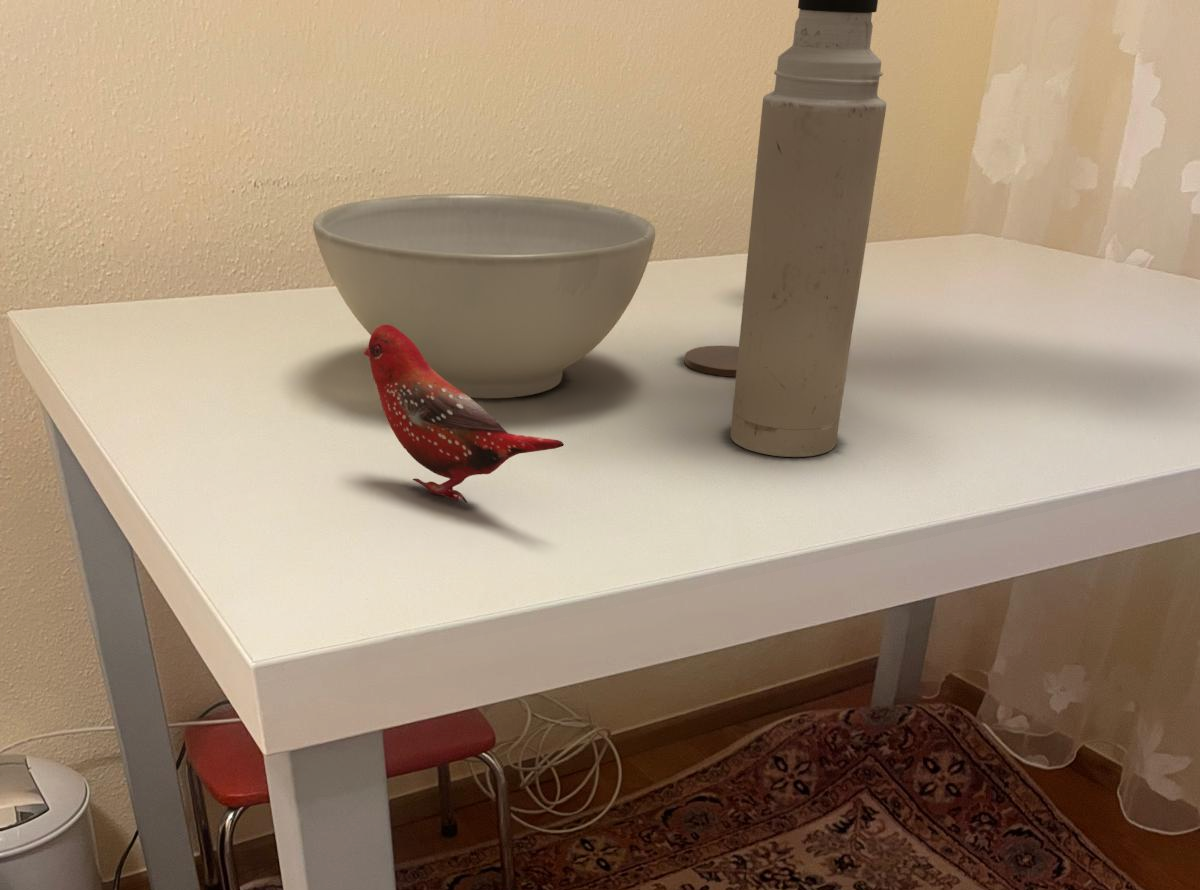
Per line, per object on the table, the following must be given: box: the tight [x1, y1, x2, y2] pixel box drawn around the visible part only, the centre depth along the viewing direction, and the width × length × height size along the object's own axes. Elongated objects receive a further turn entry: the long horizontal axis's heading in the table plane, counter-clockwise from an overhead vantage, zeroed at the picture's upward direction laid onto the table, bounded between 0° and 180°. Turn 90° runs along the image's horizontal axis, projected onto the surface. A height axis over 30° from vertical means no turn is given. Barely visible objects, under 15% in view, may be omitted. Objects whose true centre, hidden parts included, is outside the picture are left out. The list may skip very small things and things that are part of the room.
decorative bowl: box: [312, 193, 656, 399], centre depth 98 cm, size 27×27×12 cm
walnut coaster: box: [684, 345, 739, 378], centre depth 107 cm, size 8×8×1 cm
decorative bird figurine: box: [363, 325, 565, 503], centre depth 75 cm, size 3×18×10 cm, turn 49°
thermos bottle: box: [729, 0, 887, 458], centre depth 82 cm, size 8×8×28 cm
